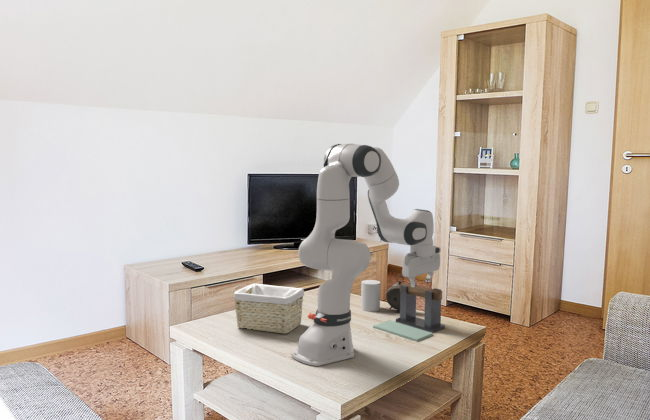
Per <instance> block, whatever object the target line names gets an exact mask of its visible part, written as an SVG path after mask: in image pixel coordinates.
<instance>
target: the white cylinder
mask: <svg viewBox="0 0 650 420" xmlns="http://www.w3.org/2000/svg"><path fill="white" fill-rule="evenodd" d="M360 284H361V286H360V287H361V289H360V291H361V294H360V296H361V297H360V298H361V299H360V303H361V304H360V310H361V311H363V312H368V313H370V312H371V313H373V312H374V313H375V312H378V311H380V310H381V281H379V280H377V279H365V280H362V281H361V283H360Z"/></svg>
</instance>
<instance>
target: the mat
mask: <svg viewBox="0 0 650 420" xmlns="http://www.w3.org/2000/svg"><path fill="white" fill-rule="evenodd" d="M372 328H373V329H377V330H380V331H382V332H384V333H385V332H386V333H388V334H391V335H395V336H398V337H402V338H404V339H408V340H411V341H414V342H419V341H422V340H425V339H427V338H429V337H431V336H434V333H431V332H428V331H425V330H421V329H418V328H415V327H411V326H408V325H404V324H401V323H398V322H396V321H393V320H391V319H389V320H387V321H383V322H380V323H377V324H374V325H373V326H372Z"/></svg>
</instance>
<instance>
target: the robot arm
mask: <svg viewBox="0 0 650 420" xmlns="http://www.w3.org/2000/svg"><path fill="white" fill-rule="evenodd" d="M353 177H355V178H358V177H361V178H364V181H365V183H366V185H367V187H368V191H367V198H368V203H369V205H370V208H371V211H372V214H373V217H374V220H375V223H376V231H377V234H378V237H379V239H380V240H381V241H382V242H384V243H392V244H398V245H405V246H410V249H409V253H406V255H405V257H404V258H403V261H402V262H403V263H402V270H401V275H402V276H403V278H408V279H409V283H411V287H416V286H418V284H417V283H418V282H417V281H416V277H417V276H421V275H425V274H427V275H426V277H425V283H426V284H429V283H431V282H432V278H433V275H434V272H435V271H439V269H440V267H441V254H440V253H441V249H442V248H441V247H439V246H436V245H434V239H433V236H434V232H435V231H434V225H435V223H434V216H433V212H431V211H430V210H426V209H420V208H415V209H412V213H411V214H410V215H409V216H408V217H407V218H399V217H398V218H397V217H395V216H393V215H391V214H390V211H389V207H388V205H387V202H386V201H387V200H388V199H390V198H392V197H393V196H395V194H396V192H398V189H399V186H400V180H399V176H398V174H397V172H396V170H395V168H394V165H393V163H392V162H391V160H390V159H389V157H388V156H387V153H385V151H384V150H383V149H382V148H380V147H377V146H371V145H367V144H355V143H337V144H333V145H331V146H330V147H329V148H327V150H326V152H325V153H324V157H323V167H322V168H321V169H320V170H319V173H318V177H317V186H316V218H315V224H314V227H313V228H312V229H313V230H312V231H311V232H310V233H309V235H308V236H307V237H306V238H304V239H303V240H302V241H301V243H300V244H299V246H298V251H297V254H298V259H299V261H300V263H301V265H303V266H305V267H306V268H307V267H308V268H311V269H313V270H321V271H330V272H332V276H331V279H329V280H326V281H324V282H323V283H321V284H320V285H319V286H318V289H317V309H316V311H315V313H312V312H310V313H308V315H307V318H308V319H309V320H312V321H313V322H312V323H311V325H310V326H309V327H308V328H307V329H306V330H305V331H304V332H303V333H302V334H301V335H300V337H299V340H298V345H297V348H296V349H295V350H292V351H291V352H290V356H291V357H292V358H293V360H296V361H298V362H300V363H303V364H305V365H310V366H313V367H314V366H315V367H319V366H320V367H321V366H324V365H328V364H332V363H336V362H340V361H343V360H349V359H353V358H355V347H354V344H353V338H352V329H351V322H352V310H351V307H350V306H351V290H352V286H353V284H354V282H355V280H356V279H357V277H358V276H359V275H360V274H361V273H363V272H365V271H366V269H368V267H369V266H370V263H371V260H372V254H371V251H370V248H369V246H368V245H367V244H366V243H364V242H361V241H357V240H354V239H341V238H335V237H336V232H337V231H338V230H340V229H342V228H343V227H345V226H346V225H347V224H348V223H349V221H350V218H351V216H350V215H351V213H350V212H351V209H350V207H351V202H350V201H351V199H350V181H351V179H352V178H353Z"/></svg>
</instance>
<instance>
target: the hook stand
mask: <svg viewBox="0 0 650 420" xmlns="http://www.w3.org/2000/svg"><path fill="white" fill-rule="evenodd" d="M408 284H411V282H409V283H408ZM433 289H435V290H439V291H442V289H441V288H436V287H435V288H433ZM416 315H417V296H415V295H411V294H408V286H404V285H400V310H399V317H398V318H396V319H395V322H397V323H401V324H404V325H408V326H411V327H414V328H418V329H421V330H424V331H428V332H431V333H433V334H434V333H436V332H439V331H441V330H443V329H445V328H446V324H442V323H441V321H442V320H441V318H442V317H441V316H442V300H439V301H436V300H433V292H430V291H425V298H424V318H420V317H417V316H416Z"/></svg>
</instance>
